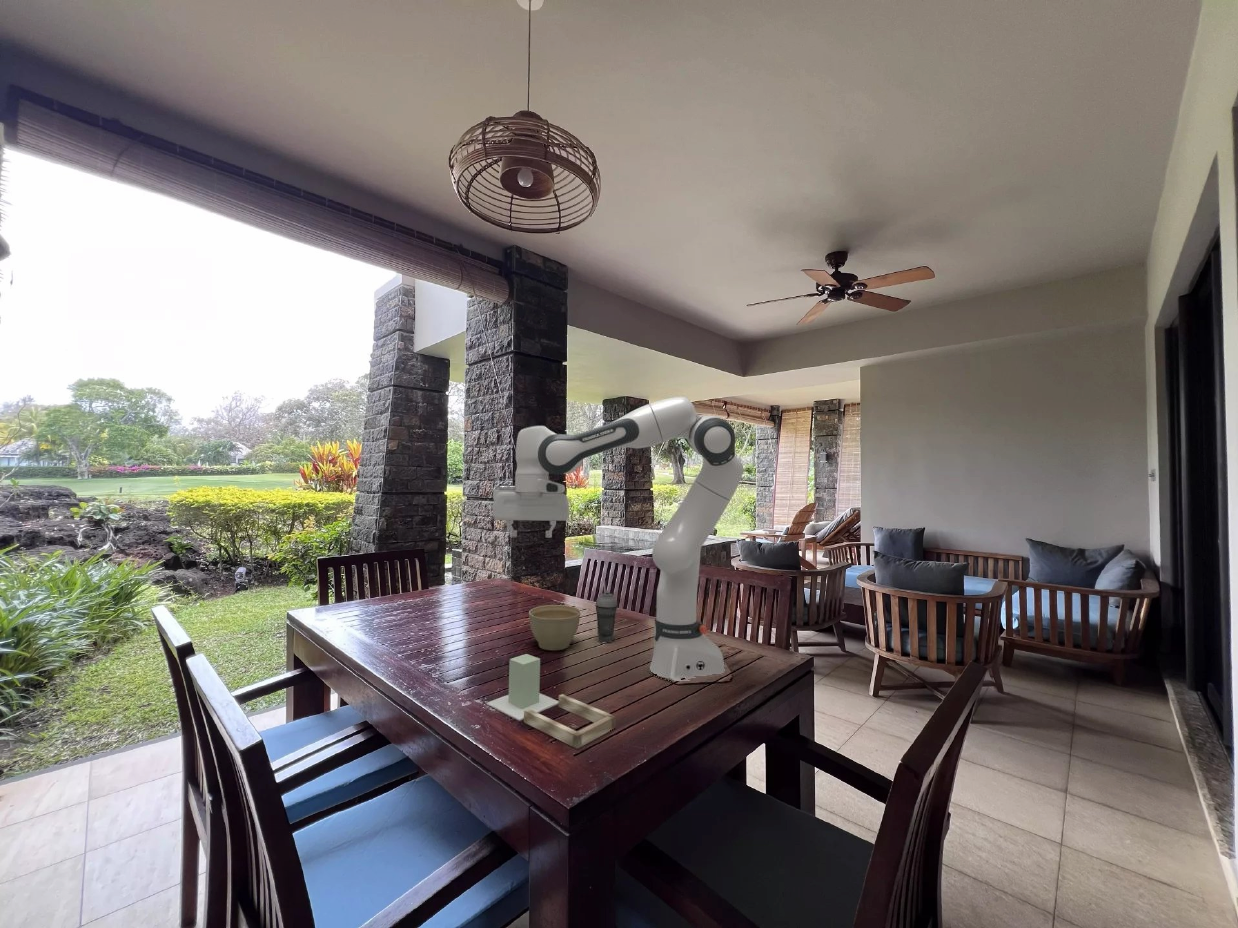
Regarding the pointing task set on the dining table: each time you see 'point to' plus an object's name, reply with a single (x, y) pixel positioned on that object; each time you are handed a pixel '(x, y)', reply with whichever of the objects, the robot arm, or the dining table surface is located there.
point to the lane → (566, 734)
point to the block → (524, 681)
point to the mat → (517, 712)
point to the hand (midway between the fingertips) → (531, 537)
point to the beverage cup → (606, 615)
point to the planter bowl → (554, 625)
